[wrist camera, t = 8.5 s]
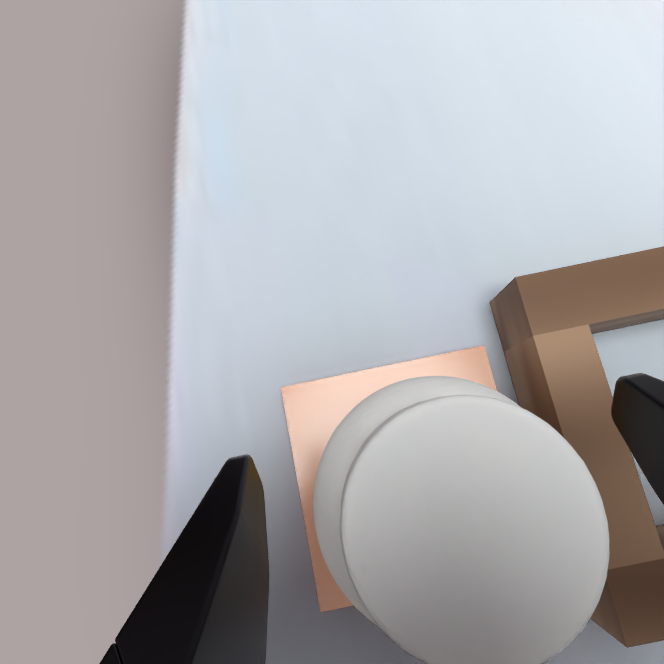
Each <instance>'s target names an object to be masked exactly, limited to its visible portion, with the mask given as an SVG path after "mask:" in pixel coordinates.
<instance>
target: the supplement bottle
mask: <svg viewBox="0 0 664 664" xmlns="http://www.w3.org/2000/svg"><path fill="white" fill-rule="evenodd" d="M313 512H314V524H315V530H316V534H317V539H318V543H319V546H320V549H321V553H322V555H323V558H324V560H325V562H326V565H327V567H328V569H329V571H330V573H331V575H332V576H333V578H334V580H335V582H336V583H337V585H338V586H339V588H340V589H341V590H342V592H343V593H344V595H345V596H346V597H347V598H348V599H349V601H350V602H351V603H352V604H353V605H354V606H355V607H356V608H357V609H358V610H359V611H360V612H361V613H362V614H363V615H365V616H366V617H367V618H368V619H369V620H371V621H372V622H373V623H374V624H376V625H377V626H379V627H380V629H381V630H382V631H383V632H384V633H385V634H386V635H387V636H388V637H389V638H390V639H391V640H392V641H393V642H394V643H396V644H397V645H398V646H399V647H400V648H402V649H403V650H404V651H406V652H407V653H409V654H410V655H412V656H414V657H415V658H417V659H419V660H421V661H422V662H424V663H426V664H543V663H545V662H547V661H548V660H550V659H552V658H553V657H555V656H556V655H557V654H559V653H560V652H561V651H563V650H564V649H565V648H566V647H567V646H568V645H569V644H570V643H571V642H572V641H573V640H574V639H575V638H576V637H577V636H578V635H579V633H580V632H581V631H582V630H583V629H584V627H585V626H586V624H587V623H588V621H589V620H590V618H591V616H592V614H593V612H594V610H595V608H596V606H597V604H598V602H599V600H600V597H601V594H602V591H603V588H604V585H605V581H606V578H607V570H608V563H609V531H608V521H607V517H606V513H605V509H604V505H603V501H602V498H601V496H600V493H599V491H598V488H597V486H596V483H595V481H594V479H593V478H592V476H591V474H590V472H589V470H588V468H587V466H586V465H585V463H584V461H583V460H582V459H581V458H580V456H579V455H578V454H577V453H576V451H575V450H574V449H573V447H572V446H571V445H570V444H569V443H568V442H567V441H566V440H565V439H564V438H563V437H562V436H561V435H560V434H559V433H558V432H557V431H556V430H555V429H554V428H553V427H552V426H550V425H549V424H548V423H547V422H545V421H544V420H542V419H540V418H539V417H537V416H536V415H534V414H533V413H531V412H529V411H528V410H525V409H523V408H521V407H520V406H519V405H518V404H516V403H515V402H514V401H512V400H511V399H509V398H508V397H506V396H504V395H503V394H501V393H499V392H497V391H495V390H493V389H491V388H489V387H487V386H485V385H482V384H479V383H476V382H473V381H470V380H466V379H462V378H456V377H448V376H423V377H416V378H410V379H406V380H402V381H399V382H396V383H393V384H391V385H388V386H386V387H384V388H382V389H380V390H378V391H376V392H374V393H373V394H371V395H369V396H368V397H367V398H365V399H364V400H362V401H361V402H360V403H359V404H358V405H356V406H355V407H354V408H353V409H352V410H351V411H350V412H349V413H348V414H347V415H346V416H345V417H344V419H343V420H342V421H341V422H340V424H339V425H338V426H337V428H336V429H335V430H334V432H333V434H332V435H331V437H330V439H329V441H328V443H327V445H326V447H325V449H324V451H323V454H322V457H321V459H320V462H319V466H318V470H317V474H316V479H315V484H314V496H313Z"/></svg>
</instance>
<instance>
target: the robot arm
mask: <svg viewBox="0 0 664 664" xmlns="http://www.w3.org/2000/svg"><path fill="white" fill-rule="evenodd" d="M611 416H612V419H613V422H614V424H615V425H616V427H617V429H618V430H619V432H620V434H621V436H622V437H623V439H624V441H625V442H626V444H627V446H628V447H629V449H630V451H631V453H632V454H633V456H634V458H635V459H636V461H637V463H638V464H639V466H640V468H641V470H642V471H643V473H644V475H645V476H646V478H647V480H648V482H649V483H650V485H651V486H652V488H653V490H654V491H655V493H656V494H657V496H658V497H659V499H660V500H661V501H662V503H663V504H664V381H661V380H659V379H656V378H654V377H651V376H649V375H646V374H642V373H638V374H633V375H628V376H623V377H620V378H619V379H618V380H617V381H616V385H615V390H614V395H613V401H612V406H611ZM268 596H269V561H268V546H267V531H266V516H265V502H264V491H263V486H262V482H261V479H260V477H259V474H258V472H257V469H256V467H255V464H254V462H253V459H252V457H251V456H250V455H241V456H237V457H232V458H229V459H228V460H227V461H226V462H225V464H224V466H223V467H222V469H221V470H220V472H219V474H218V475H217V477H216V478H215V480H214V482H213V483H212V485H211V486H210V488H209V490H208V491H207V493H206V494H205V496H204V498H203V499H202V501H201V502H200V504H199V506H198V507H197V509H196V510H195V512H194V514H193V515H192V517H191V518H190V520H189V522H188V523H187V525H186V526H185V528H184V530H183V531H182V533H181V534H180V536H179V538H178V539H177V541H176V542H175V544H174V546H173V547H172V549H171V550H170V552H169V554H168V555H167V557H166V558H165V560H164V562H163V563H162V565H161V566H160V568H159V570H158V571H157V573H156V574H155V576H154V578H153V579H152V581H151V582H150V584H149V586H148V587H147V589H146V591H145V592H144V594H143V595H142V597H141V598H140V600H139V602H138V603H137V605H136V606H135V608H134V610H133V611H132V613H131V615H130V616H129V618H128V619H127V621H126V623H125V624H124V626H123V627H122V629H121V630H120V632H119V634H118V635H117V637H116V639H115V641H116V644H115V643H114V644H112V645H111V646H110V648H109V649H108V651H107V653H106V654H105V656H104V657H103V659H102V661H101V662H100V664H265V662H266V640H267V618H268Z"/></svg>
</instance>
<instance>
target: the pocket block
mask: <svg viewBox="0 0 664 664" xmlns="http://www.w3.org/2000/svg"><path fill="white" fill-rule="evenodd" d="M490 304H491V308H492V311H493V315H494V318H495V322H496V325H497V329H498V332H499V336H500V339H501V343H502V346H503V350H504V353H505V357H506V360H507V364H508V367H509V371H510V374H511V378H512V381H513V385H514V388H515V392H516V395H517V399H518V402H519V406H520V407H521V408H523V409H525V410H528V411H529V412H531V413H533V414H534V415H536V416H537V417H539V418H540V419H542V420H544V421H545V422H547V423H548V424H549V425H550V426H552V427H553V428H554V429H555V430H556V431H557V432H558V433H559V434H560V435H561V436H562V437H563V438H564V439H565V440H566V441H567V442H568V443H569V444H570V445H571V446H572V447H573V449H574V450H575V451H576V453H577V454H578V455H579V456H580V458H581V459H582V460H583V461H584V463H585V465H586V466H587V468H588V470H589V472H590V474H591V476H592V478H593V479H594V481H595V483H596V486H597V488H598V491H599V493H600V496H601V498H602V501H603V505H604V509H605V513H606V517H607V521H608V531H609V563H608V570H607V578H606V581H605V585H604V588H603V591H602V594H601V597H600V600H599V602H598V604H597V606H596V608H595V610H594V612H593V614H592V616H591V618H590V619H592V620H593V621H594V622H596V623H597V624H598V625H599V626H601V627H602V628H603V629H604V630H606V631H607V632H608V633H609V634H611V635H612V636H613V637H615V638H616V639H617V640H618V641H620V642H621V643H622V644H623V645H625V646H626V647H632V646H637V645H642V644H647V643H652V642H657V641H662V640H664V525H660V526H655V524H654V521H653V517H652V514H651V511H650V508H649V505H648V502H647V499H646V496H645V493H644V490H643V487H642V484H641V481H640V478H639V475H638V472H637V469H636V466H635V463H634V460H633V457H632V454H631V451H630V449H629V447H628V446H627V444H626V442H625V441H624V439H623V437H622V436H621V434H620V432H619V430H618V429H617V427H616V425H615V424H614V422H613V419H612V416H611V406H612V401H613V397H612V394H611V391H610V388H609V385H608V381H607V378H606V375H605V372H604V369H603V366H602V363H601V360H600V357H599V354H598V351H597V348H596V345H595V342H594V339H593V336H592V334H593V333H598V332H603V331H608V330H613V329H617V328H622V327H627V326H632V325H637V324H642V323H646V322H651V321H656V320H661V319H664V247H659V248H654V249H650V250H645V251H640V252H635V253H630V254H626V255H621V256H616V257H611V258H606V259H601V260H597V261H592V262H587V263H582V264H577V265H573V266H568V267H563V268H558V269H553V270H548V271H544V272H539V273H534V274H529V275H524V276H520V277H515V278H514V279H513V280H512V281H511V282H510V283H509V284H508V285H507V286H506V287H505V288H504V289H503V290H502V291H501V292H500V293H499V294H498V295H497V296H496V297H495V298H494V299H493V300H492V301H491V302H490Z"/></svg>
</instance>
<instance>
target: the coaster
mask: <svg viewBox="0 0 664 664" xmlns="http://www.w3.org/2000/svg"><path fill="white" fill-rule="evenodd" d="M423 376H448V377H456V378H462V379H466V380H470V381H473V382H476V383H479V384H482V385H485V386H487V387H489V388H491V389H493V390H495V391H497V389H496V385H495V382H494V378H493V375H492V371H491V367H490V364H489V360H488V357H487V353H486V349H485V346H484V345H483V346H478V347H473V348H469V349H464V350H459V351H454V352H449V353H444V354H439V355H435V356H430V357H425V358H420V359H415V360H410V361H406V362H401V363H396V364H391V365H386V366H381V367H377V368H372V369H367V370H362V371H357V372H352V373H347V374H343V375H338V376H333V377H328V378H323V379H318V380H314V381H309V382H304V383H299V384H294V385H289V386H285V387H281V391H282V397H283V402H284V408H285V414H286V419H287V425H288V431H289V436H290V442H291V448H292V453H293V459H294V465H295V470H296V476H297V482H298V487H299V493H300V499H301V504H302V510H303V516H304V521H305V527H306V533H307V538H308V544H309V550H310V555H311V561H312V567H313V572H314V578H315V584H316V589H317V595H318V601H319V607H320V612H325V611H330V610H335V609H340V608H345V607H349V606H354V605H353V604H352V603H351V602H350V601H349V599H348V598H347V597H346V596H345V595H344V593H343V592H342V590H341V589H340V588H339V586H338V585H337V583H336V582H335V580H334V578H333V576H332V575H331V573H330V571H329V569H328V567H327V565H326V562H325V560H324V558H323V555H322V553H321V549H320V546H319V543H318V539H317V534H316V530H315V524H314V512H313V496H314V484H315V479H316V474H317V470H318V466H319V462H320V459H321V457H322V454H323V451H324V449H325V447H326V445H327V443H328V441H329V439H330V437H331V435H332V434H333V432H334V430H335V429H336V428H337V426H338V425H339V424H340V422H341V421H342V420H343V419H344V417H345V416H346V415H347V414H348V413H349V412H350V411H351V410H352V409H353V408H354V407H355V406H356V405H358V404H359V403H360V402H361V401H362V400H364V399H365V398H367V397H368V396H369V395H371V394H373V393H374V392H376V391H378V390H380V389H382V388H384V387H386V386H388V385H391V384H393V383H396V382H399V381H402V380H406V379H410V378H416V377H423Z"/></svg>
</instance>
